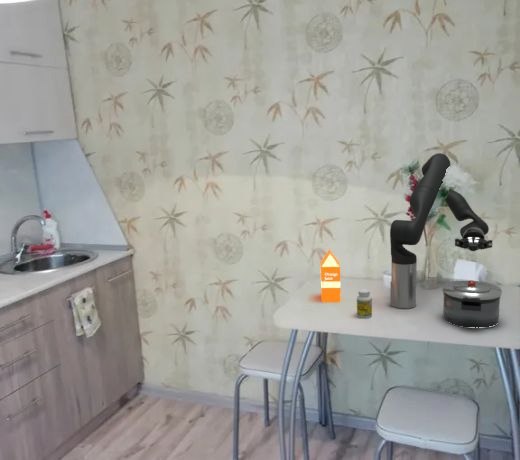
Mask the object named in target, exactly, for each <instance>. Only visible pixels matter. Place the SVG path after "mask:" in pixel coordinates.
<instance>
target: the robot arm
mask: <svg viewBox="0 0 520 460" xmlns="http://www.w3.org/2000/svg"><path fill="white" fill-rule="evenodd" d="M449 166H450V167H451V160H450V158H449V157H448V156H447V155H446V154H444V153H440V152H439V153H435V154H433V155H432V156H430V157H429V159H428V160H426V162H425V163H424V164H423V165H422V167H421V173H422V175H423V176H422V178H421V179H420V180H419V181H418V182H417V184H416V185H415V186H414V188H413V191H412V193H411V195H410V197H409V206H410V209H411V210H412V212H413V214H414V217H415V218H414V219H413V220H408V219H407V220H403V219H395V220H393V221H392V222H391V224H390V228H389V229H390V230H389V241H390V242H389V243H390V257H391V280H390V283H389V284H390V285H389V286H390V287H389V288H390V293H389V296H390V297H389V298H390V299H389V300H390V301H389V302H390V307H395V308H397V309H413V308H416V306H417V269H418V268H417V262H418V261H417V260H418V259H417V255H416V254H415V253H414V252H412V251H410V250H408V249H407V248H405V247H404V246H416V245H417V244H418V243H420V241H421V239H422V236H423V232H424V229H425V225H426V222H427V219H428V216H429V215H430V213H431V210H432V207H433V206H434V203H435V202H436V201H435V200H436V199H437V197H438V191H439V188H440V186H441V184H442V183H443V182H444V178H445V177H446V175H445V173H446V169H447V168H448V167H449ZM442 180H443V181H442ZM445 203H446V205H447V207H448V208H449V209H450V210H449V211H450V212H451V213H452V214H453V216H454V218H455V219H456V220H457V221H458V222H464V221H466V220H471V221H470V222H469V223H467V224H466V225H464V226H462V227H461V228H460V230H459V235H460V236H461V239H459V238H455V239H454V246H455V247H458V248H462V249H465V250H466V249H467V250H469V251H470V252H476V251H479V250H485V249H491V248H493V240H492V239H489V240H487V239H486V237H485V235H487V234H488V233H489V231H490V229H489V228H490V227H489V225H488V223H487V222H486V221H485V220H483V219H482V218H481V217H480V216H478V214H477V213H475V212H474V210H473V209H472V207H471V206H470V204H469V203H468V201H467V199H466V198H465V197H464V196H463V195H462V194H461V193H459V192H458V191H456V190H454V189H452V188H450V189H449V194H448V196H447V198H446V202H445Z"/></svg>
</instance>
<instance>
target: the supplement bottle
mask: <svg viewBox="0 0 520 460" xmlns="http://www.w3.org/2000/svg"><path fill="white" fill-rule="evenodd" d="M357 293H358V295H357V297H356V316H357V317H359V318H361V319H369V318H371V317H372V315H373V307H372V306H373V299H372V296H371V294H370V293H371V292H370V290H369V289H364V288H363V289H359V290H358V292H357Z"/></svg>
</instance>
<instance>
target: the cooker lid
mask: <svg viewBox="0 0 520 460" xmlns="http://www.w3.org/2000/svg"><path fill="white" fill-rule="evenodd" d="M442 292H444V293H445V294H447V295H449V296H452V297H456V298H460V299H463V301H474V302H480V300H491V299H496V298H498V297H500V298H501V297H502V295H503V294H502V292H503V291H502V288H501V287H499V286H497V285H495V284H493V283H489V282H485V281H480V280H479V281H478V280H477V281H476V280H472V279H471V280H470V279H469V280H453V281H448V282H445V283H444V284H443V285H442Z"/></svg>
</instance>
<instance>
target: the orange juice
mask: <svg viewBox="0 0 520 460" xmlns="http://www.w3.org/2000/svg"><path fill="white" fill-rule="evenodd" d="M320 287H321V288H320V292H321V293H320V294H321V296H320V297H321V303H341V302H342V301H341V299H342V298H341V264H340V261H339V260H338V259H337V257H336V256H335V255H334V254H333V252H332V251H331V249H330V248H329V249H328V251H327V252H326V253H325V255H324V256H323V258H322V259H321V260H320Z"/></svg>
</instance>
